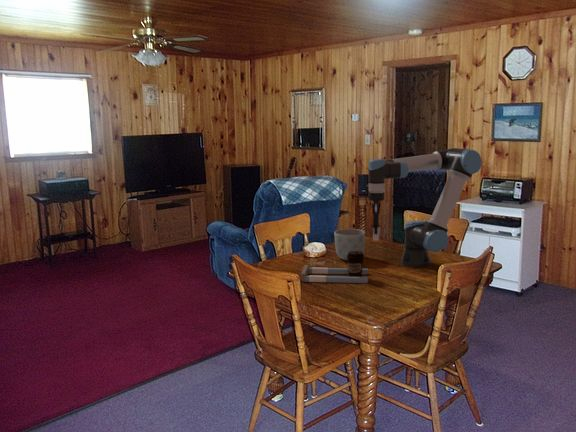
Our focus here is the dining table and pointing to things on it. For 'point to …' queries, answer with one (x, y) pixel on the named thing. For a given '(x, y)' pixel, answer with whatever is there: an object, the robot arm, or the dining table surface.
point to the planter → (349, 241)
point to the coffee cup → (355, 263)
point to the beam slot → (331, 278)
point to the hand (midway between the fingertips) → (375, 240)
